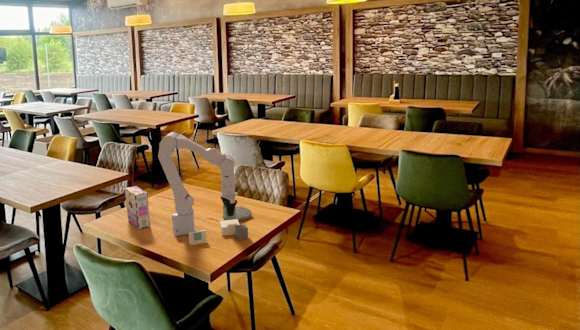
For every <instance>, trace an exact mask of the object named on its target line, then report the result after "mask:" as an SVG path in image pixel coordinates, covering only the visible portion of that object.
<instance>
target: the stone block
mask: <svg viewBox="0 0 580 330" xmlns="http://www.w3.org/2000/svg"><path fill="white" fill-rule="evenodd" d="M235 210H236V218H233V219H225V217H224V216H223V215H222V219H224V220H234V219H238V222H240V221H245V220H248V219H250V218H251V217H252V216H253V213H252V211H251V209H249V208H247V207H245V206H241V205H237V206H235ZM224 220H223V221H224Z"/></svg>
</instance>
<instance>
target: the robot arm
mask: <svg viewBox="0 0 580 330" xmlns="http://www.w3.org/2000/svg"><path fill="white" fill-rule="evenodd" d="M158 145H159V148H158V154H157V157H158V160H159V163H160V165H161V167H162V170H163V172H164V175H165V176H166V179H167V181H168V184H169V186H170V188H171V191H172V194H173V201H174V204H175V205H174V206H175V207H174V208H175V209H174V210H175V212H174V213H172V214H171V222H172V231H173V234H174V236H175V237H177V236H186V235H189V232H195V231H197V229H196V227H195V214H194V213H195V212H194V209H193V205H194V203H195V201H194V200H195V199H194V197H193V196H192V195H191V194H190V192H189V191H188V190H187V189H186V188H185V186H184V184H183V181H182V179H181V176H180V174H179V171H178V168H177V166H176V164H175V162H174V159H173V157H172V155H173V153H174V152H175V150H176V149H177V150H180V149H181V150H182V149H187V150H189V151H191V152H193V153H196V154H198V155H200V156H202V157H203V159H204V160H205V161H206V162H208V163H210V164H212V165H214V166H216V167H218V168H219V169H220V171H221V173H220V181H221V182H220V183H221V185H220V186H221V196H220V200H221V201H222V204H223V205H226V208H227V213H228V216H233V215H234V209H235V207H237V206H236V205H237V203H238V200H237V199H236V196H238V195H239V192H236V185H235V184H236V183H235V182H236V181H235V179H236V178H235V169H234V166H235V159H234V157H233V156H231V155H229V154H226V153H222V152H220V151H218V150H217V148H215V147H213V148H212V147H209V148H206V147H203V146H202V145H201V144H198V143H197V142H195V141H194V140H192V139H190V138H188V137H186V136H185V135H183V134H180V133H178V132H176V131H171V132H168V134H167V135H165V136H164V137H162V138H161V141H160V142H159V144H158Z"/></svg>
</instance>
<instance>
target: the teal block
mask: <svg viewBox="0 0 580 330" xmlns="http://www.w3.org/2000/svg"><path fill="white" fill-rule="evenodd" d="M222 210H223V212H222V213H223V215H222V217H223V216H224V217H225V219H233V218H236V210H235V209H234V215H233V216H228V213H227V208H226V205H224V204H223V205H222Z"/></svg>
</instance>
